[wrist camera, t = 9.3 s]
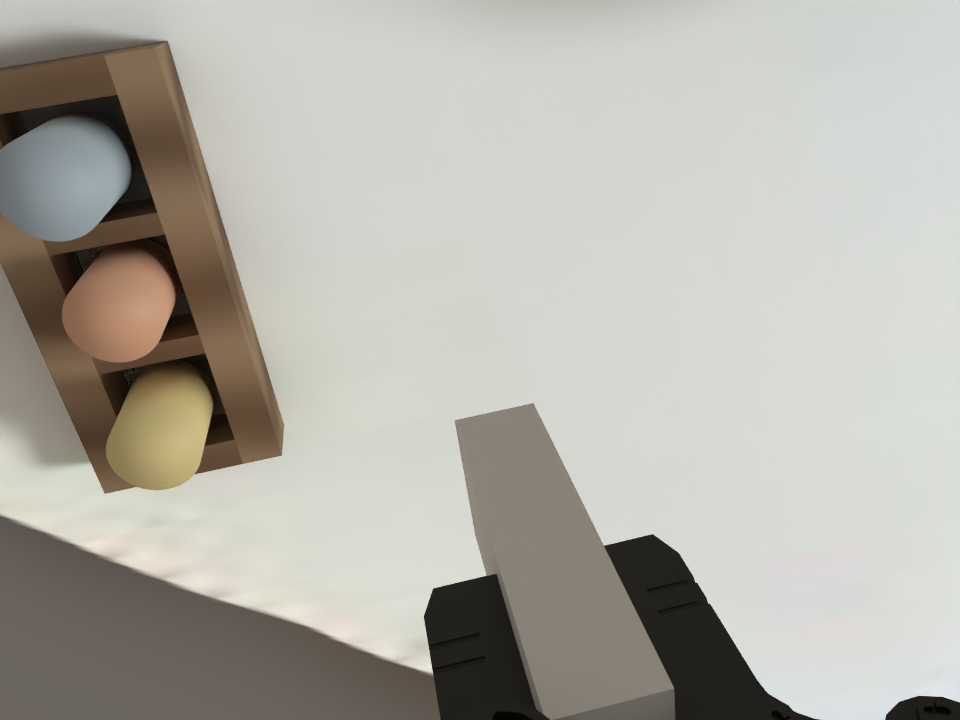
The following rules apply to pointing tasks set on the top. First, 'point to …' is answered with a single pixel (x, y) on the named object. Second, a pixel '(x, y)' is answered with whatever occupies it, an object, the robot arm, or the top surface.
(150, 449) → the button ochre
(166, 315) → the button terracotta
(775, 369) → the top surface
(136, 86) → the button board
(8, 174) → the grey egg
